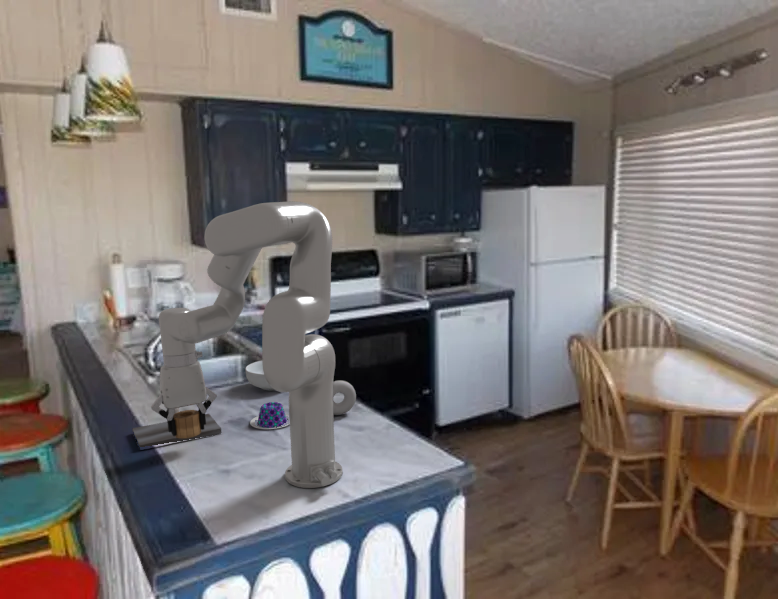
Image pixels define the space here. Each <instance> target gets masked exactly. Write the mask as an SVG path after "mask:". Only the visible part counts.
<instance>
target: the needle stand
mask: <svg viewBox="0 0 778 599" xmlns="http://www.w3.org/2000/svg"><path fill="white" fill-rule="evenodd" d="M178 412H180V408H175V411H174V414H175V413H178ZM205 418H206V425H204V429H203V430H202V429H201V433H200V434H199V435H197V436H195V437H191V438H176V437H175V436H173V435H172V433H171V432H169V431H168V423H167V421H162V422H159V423H157V422H156V423H154V424H149V425H144V426H137V427H132V433H133V432H134V435H135V437H136V439H137V441H138V444H139V446H140V447H145V446H152V445H158V444H164V443H169V442H177V441H183V440H189V439H194V440H196V439H195V438H199V439H201V438H200V437H204V438H207V437H206V436H209V437H213V436H217V435H216V434H218V435H221V433H223V432H222V427H221V426H220V425H219V424H218V422H217V421H216V420H215V419H214V418H213V416H211V414H210V413H205ZM134 435H133V436H134ZM212 435H213V436H212ZM138 444H137V445H138Z"/></svg>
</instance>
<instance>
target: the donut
mask: <svg viewBox="0 0 778 599" xmlns="http://www.w3.org/2000/svg"><path fill="white" fill-rule="evenodd" d="M338 393H341V394H343V400H342V401H341V402H335V401H334V399H333V416H342V415H344V414H347V413H348V412H350V410H352V409H353V407H354V405H355V404H356V401H357V394H356V390H355V388H354V386H353V385H352V384H351V383H350V382H348V381H346V380H335V381H334V380H333V398H334V397H335V396H336V395H337V394H338ZM341 414H342V415H341Z"/></svg>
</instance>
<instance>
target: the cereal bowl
mask: <svg viewBox="0 0 778 599" xmlns="http://www.w3.org/2000/svg"><path fill="white" fill-rule="evenodd" d="M245 376H246V380H247V381H248V382H249V383H250V384H251V385H252V386H254V387H256V388H260V389H262V390H263V391H276V390H275V389H273V388H272V387H271V386H270V385H269V384H268V382H267V380H266V378H265V376H264V372H263V365H262V360H258V361H255V362H252V363H250V364H248V365H247V366H246V367H245Z"/></svg>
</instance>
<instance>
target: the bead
mask: <svg viewBox="0 0 778 599" xmlns="http://www.w3.org/2000/svg"><path fill="white" fill-rule="evenodd" d="M173 419H174V420H175V425H176V434H177V435H176V436H175V437H176V438H191V437H195V436H197V435H199V434H200V433H201V426H200V416H199V411H198V410H196V409H187V410H181V411H180V410H179V412H178V413H175V414H174V415H173Z"/></svg>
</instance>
